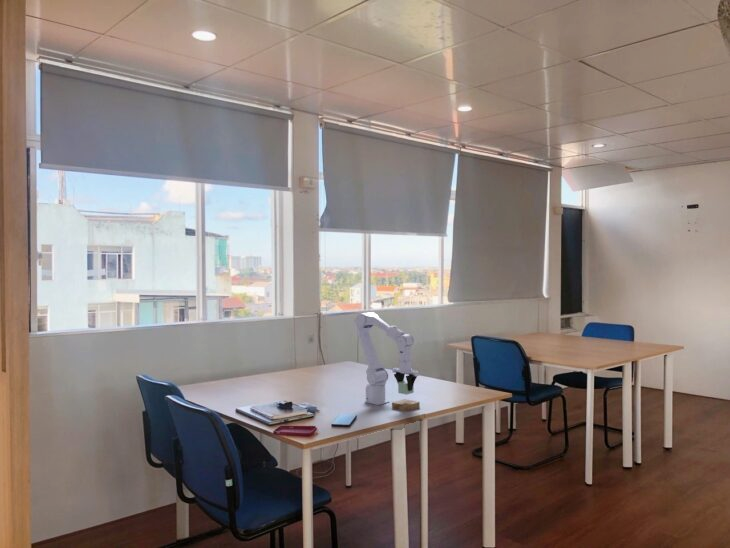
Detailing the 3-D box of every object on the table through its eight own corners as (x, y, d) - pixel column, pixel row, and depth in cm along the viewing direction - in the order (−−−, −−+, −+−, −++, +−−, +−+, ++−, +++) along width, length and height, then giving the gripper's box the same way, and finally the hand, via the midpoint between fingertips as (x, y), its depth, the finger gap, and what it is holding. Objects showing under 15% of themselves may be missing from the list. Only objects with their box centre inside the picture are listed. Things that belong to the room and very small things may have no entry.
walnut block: (392, 408, 269) (391, 402, 269) (405, 405, 276) (404, 398, 276) (406, 412, 263) (406, 405, 263) (419, 408, 269) (419, 402, 269)
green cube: (398, 392, 269) (398, 382, 269) (405, 391, 273) (405, 380, 273) (406, 394, 266) (406, 383, 266) (413, 392, 269) (413, 381, 269)
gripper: (422, 361, 267) (423, 390, 267) (399, 357, 277) (399, 386, 277) (412, 363, 262) (413, 393, 262) (389, 359, 272) (389, 388, 272)
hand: (405, 389), depth 269 cm, fingers closed on green cube, 5 cm apart
